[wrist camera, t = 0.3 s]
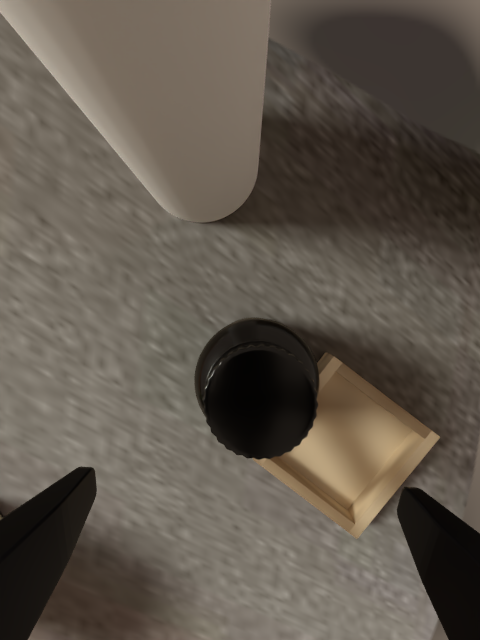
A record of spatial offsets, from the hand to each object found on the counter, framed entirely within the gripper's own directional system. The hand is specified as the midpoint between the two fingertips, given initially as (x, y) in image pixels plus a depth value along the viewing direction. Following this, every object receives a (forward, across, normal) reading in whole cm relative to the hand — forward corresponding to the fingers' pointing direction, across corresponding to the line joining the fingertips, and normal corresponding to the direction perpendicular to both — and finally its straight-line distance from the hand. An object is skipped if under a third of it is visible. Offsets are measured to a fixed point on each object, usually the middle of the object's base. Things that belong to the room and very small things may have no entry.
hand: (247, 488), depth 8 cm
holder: (+14, -8, +8) cm, 18 cm away
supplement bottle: (+15, -1, +2) cm, 15 cm away
